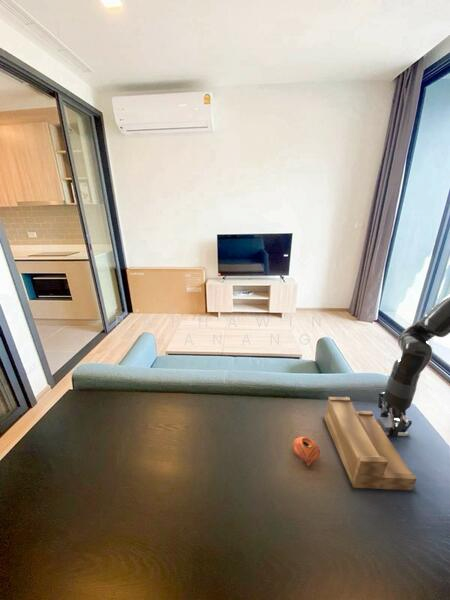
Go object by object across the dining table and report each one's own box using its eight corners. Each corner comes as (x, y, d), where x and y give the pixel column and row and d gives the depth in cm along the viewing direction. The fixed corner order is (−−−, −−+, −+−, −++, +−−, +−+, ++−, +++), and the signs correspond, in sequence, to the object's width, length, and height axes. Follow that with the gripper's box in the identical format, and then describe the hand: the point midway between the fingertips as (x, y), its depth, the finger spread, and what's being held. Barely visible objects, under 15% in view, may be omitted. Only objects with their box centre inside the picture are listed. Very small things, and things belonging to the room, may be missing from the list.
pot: (289, 464, 74) (292, 443, 73) (293, 447, 81) (295, 428, 80) (317, 474, 71) (320, 453, 70) (319, 456, 78) (321, 437, 77)
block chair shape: (399, 425, 87) (401, 417, 86) (407, 435, 83) (410, 428, 82) (376, 424, 88) (378, 416, 86) (383, 435, 84) (385, 427, 82)
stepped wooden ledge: (368, 420, 89) (375, 397, 85) (412, 490, 67) (423, 463, 64) (324, 419, 90) (328, 396, 86) (353, 487, 68) (360, 461, 64)
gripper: (428, 407, 73) (412, 448, 79) (397, 375, 86) (386, 412, 92) (402, 406, 73) (388, 447, 79) (376, 375, 86) (366, 412, 92)
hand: (387, 428), depth 85 cm, fingers open, 5 cm apart
